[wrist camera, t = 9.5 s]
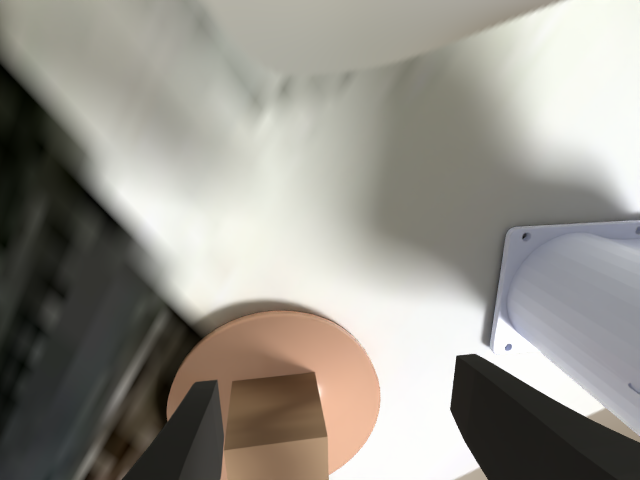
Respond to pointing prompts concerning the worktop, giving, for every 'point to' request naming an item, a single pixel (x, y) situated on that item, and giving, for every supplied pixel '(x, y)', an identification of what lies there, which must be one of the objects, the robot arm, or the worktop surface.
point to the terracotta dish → (290, 371)
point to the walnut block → (276, 430)
